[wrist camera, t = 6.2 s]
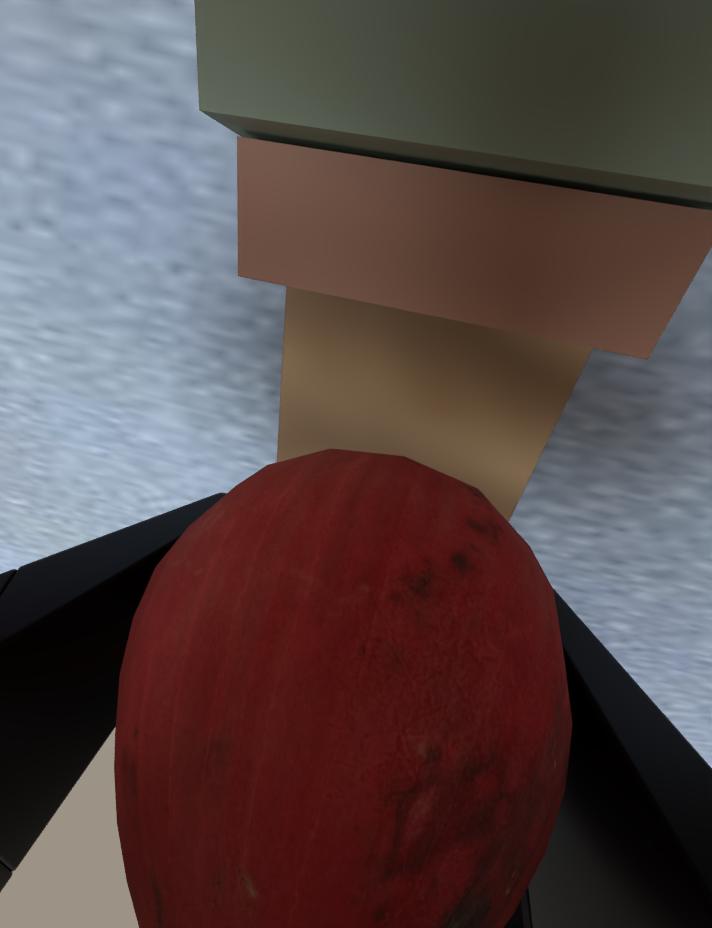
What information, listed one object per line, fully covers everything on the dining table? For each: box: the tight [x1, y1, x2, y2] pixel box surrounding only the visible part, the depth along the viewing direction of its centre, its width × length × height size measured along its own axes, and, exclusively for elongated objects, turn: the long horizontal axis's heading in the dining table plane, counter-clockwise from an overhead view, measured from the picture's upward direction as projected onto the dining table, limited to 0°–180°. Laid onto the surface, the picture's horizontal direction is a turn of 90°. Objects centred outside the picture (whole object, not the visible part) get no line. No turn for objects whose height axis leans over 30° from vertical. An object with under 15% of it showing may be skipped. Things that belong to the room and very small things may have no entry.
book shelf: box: [194, 0, 712, 522], centre depth 10 cm, size 15×11×10 cm
